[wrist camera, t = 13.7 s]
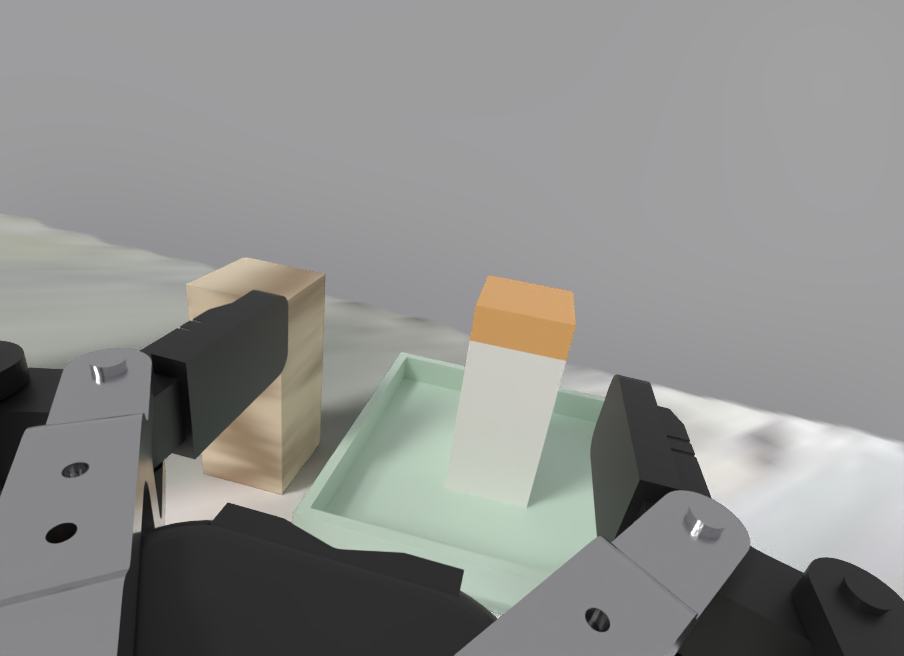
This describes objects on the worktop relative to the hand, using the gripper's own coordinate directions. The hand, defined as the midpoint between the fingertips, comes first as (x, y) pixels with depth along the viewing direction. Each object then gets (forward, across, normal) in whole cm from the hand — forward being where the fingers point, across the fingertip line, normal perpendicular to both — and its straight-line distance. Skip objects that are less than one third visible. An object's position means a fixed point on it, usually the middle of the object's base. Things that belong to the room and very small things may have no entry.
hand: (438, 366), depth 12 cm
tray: (+15, -2, +16) cm, 22 cm away
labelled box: (+15, -2, +16) cm, 22 cm away
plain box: (+12, +12, +17) cm, 24 cm away
